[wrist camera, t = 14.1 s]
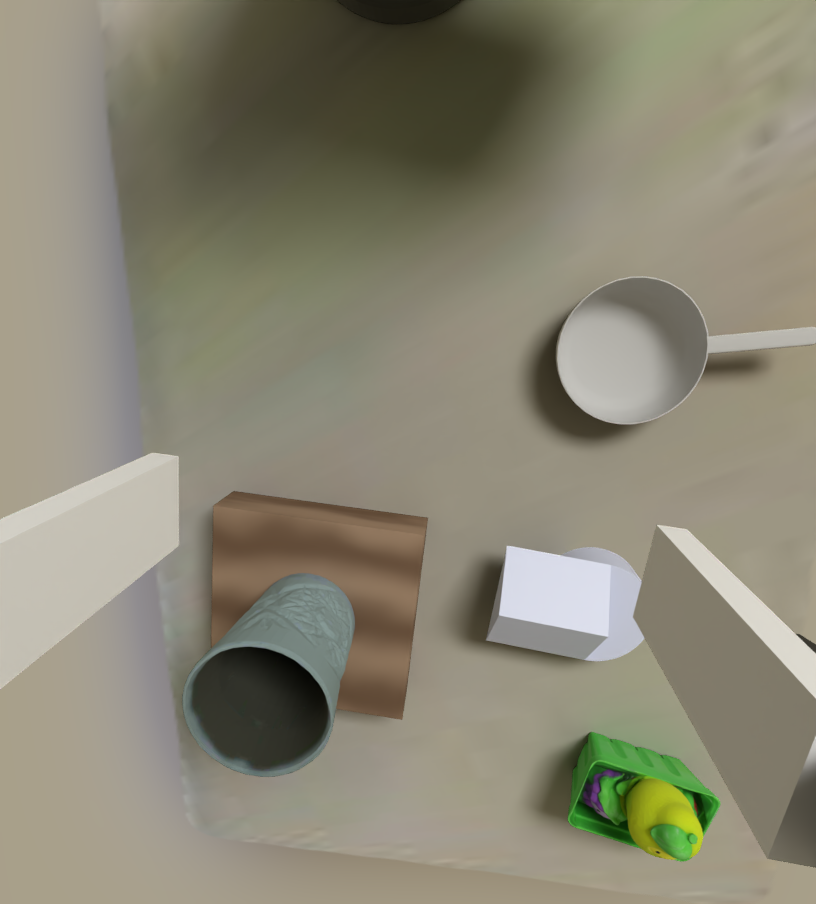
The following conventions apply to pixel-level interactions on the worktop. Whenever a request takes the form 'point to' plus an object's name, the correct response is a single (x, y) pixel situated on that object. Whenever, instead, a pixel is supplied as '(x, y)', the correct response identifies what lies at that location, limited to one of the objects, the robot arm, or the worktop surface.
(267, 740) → the grey cup
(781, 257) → the worktop surface
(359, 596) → the walnut stand
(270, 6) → the worktop surface
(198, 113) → the worktop surface
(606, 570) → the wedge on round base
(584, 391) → the small pan
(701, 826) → the fruit basket
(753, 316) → the worktop surface
